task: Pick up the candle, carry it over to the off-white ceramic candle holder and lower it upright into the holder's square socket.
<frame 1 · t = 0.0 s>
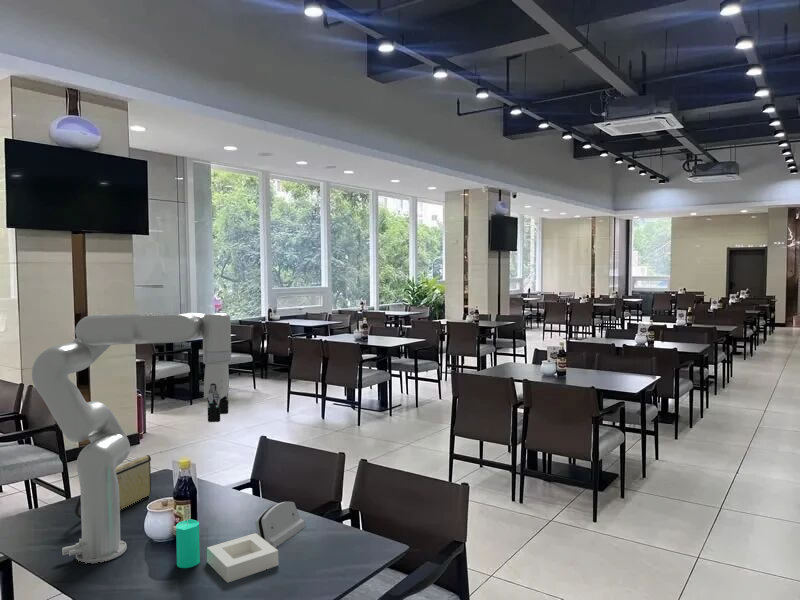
hand: (218, 417, 161), 37 cm above the table, tool pointing down, fingers open, 9 cm apart
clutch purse: (114, 511, 191), on the table
hinge: (280, 535, 171), on the table
candle: (188, 563, 154), on the table
candle holder: (242, 563, 153), on the table
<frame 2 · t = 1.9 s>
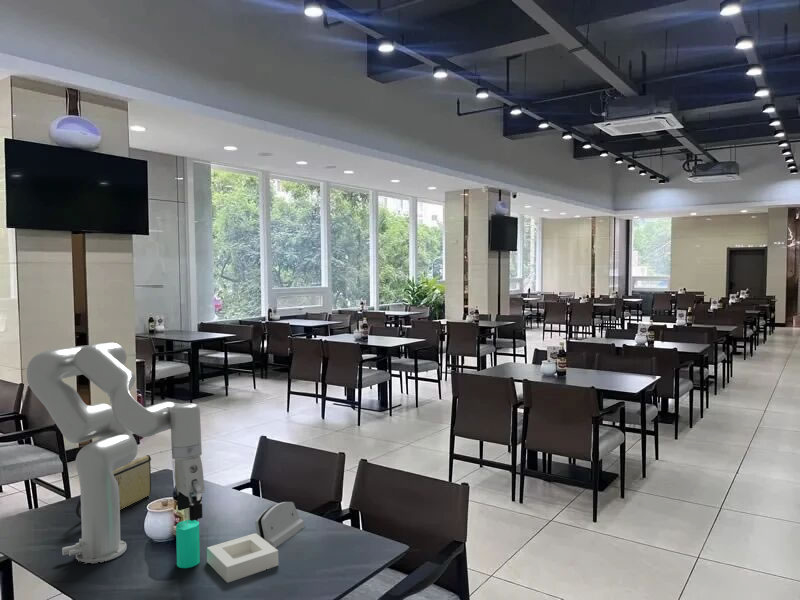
hand: (189, 513, 154), 13 cm above the table, tool pointing down, fingers open, 9 cm apart
nothing on the table moved.
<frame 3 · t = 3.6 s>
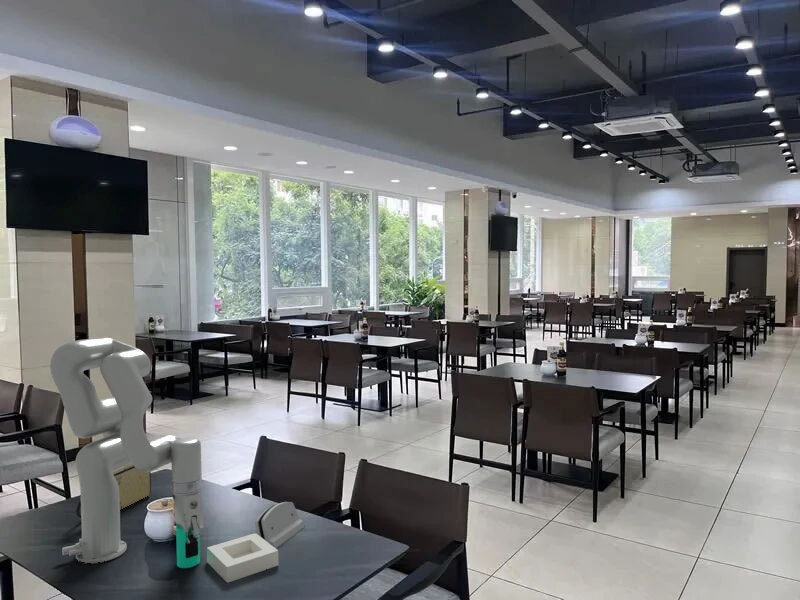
hand: (188, 551, 154), 3 cm above the table, tool pointing down, fingers closed on candle, 4 cm apart
candle: (188, 563, 154), on the table, touching gripper
everything else where it was.
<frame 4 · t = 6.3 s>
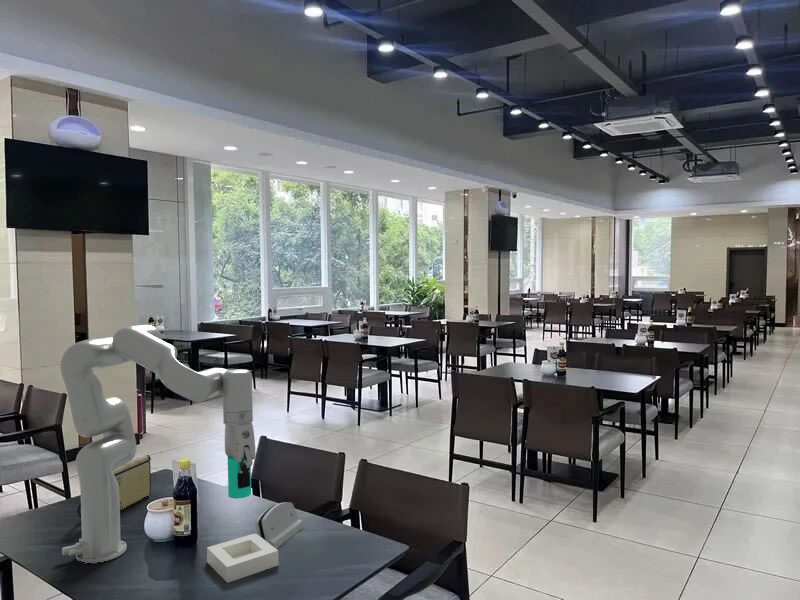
hand: (239, 483, 153), 22 cm above the table, tool pointing down, fingers closed on candle, 4 cm apart
candle: (239, 495, 153), point 19 cm above the table, touching gripper
everything else where it was.
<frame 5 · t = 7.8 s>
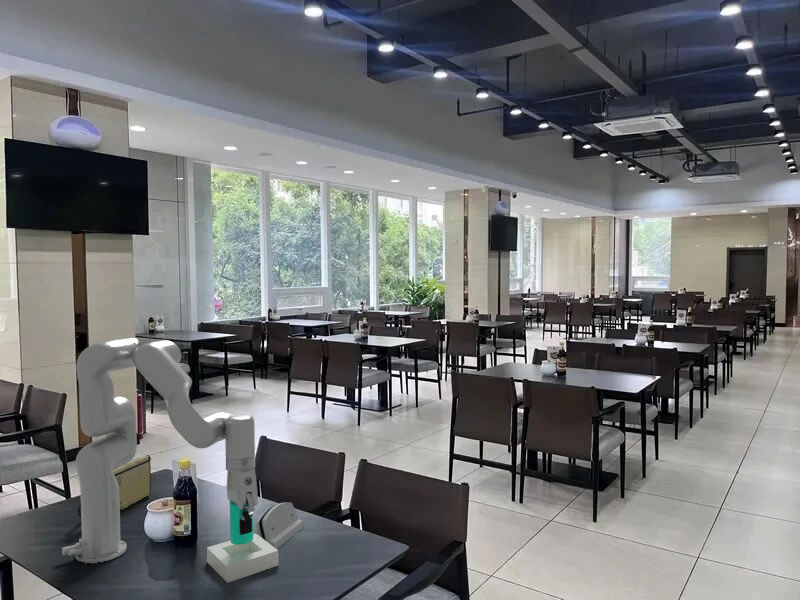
hand: (241, 528, 153), 9 cm above the table, tool pointing down, fingers closed on candle, 4 cm apart
candle: (241, 540, 153), point 6 cm above the table, touching gripper
everything else where it was.
when the fingers open (5 cm above the table, at t = 9.3 s): candle stays where it is, resting on candle holder.
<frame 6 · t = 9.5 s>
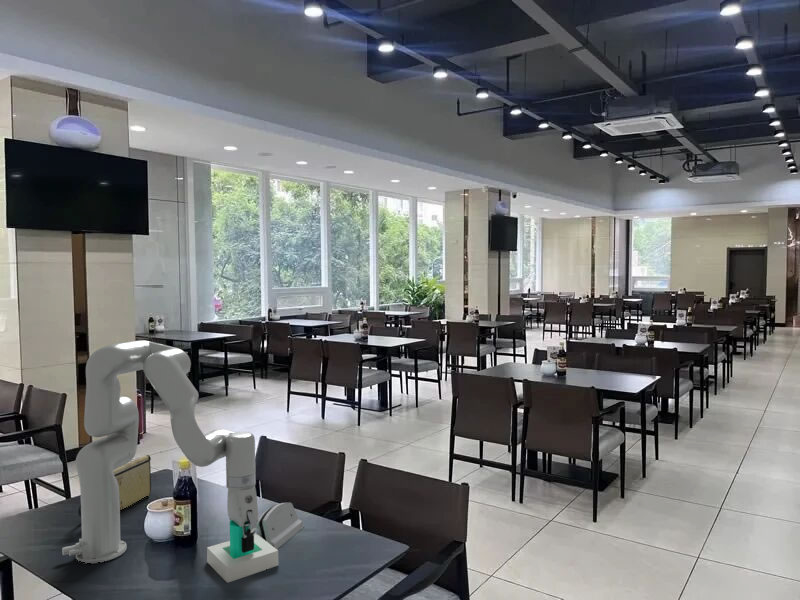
hand: (242, 545, 153), 5 cm above the table, tool pointing down, fingers open, 6 cm apart
candle: (241, 560, 153), point 1 cm above the table, touching candle holder
everything else where it was.
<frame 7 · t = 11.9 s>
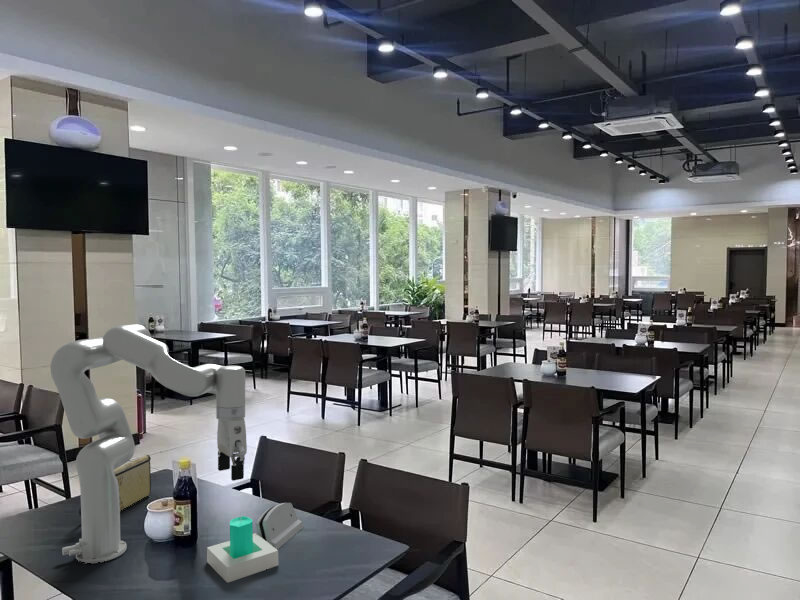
hand: (230, 474, 156), 23 cm above the table, tool pointing down, fingers open, 9 cm apart
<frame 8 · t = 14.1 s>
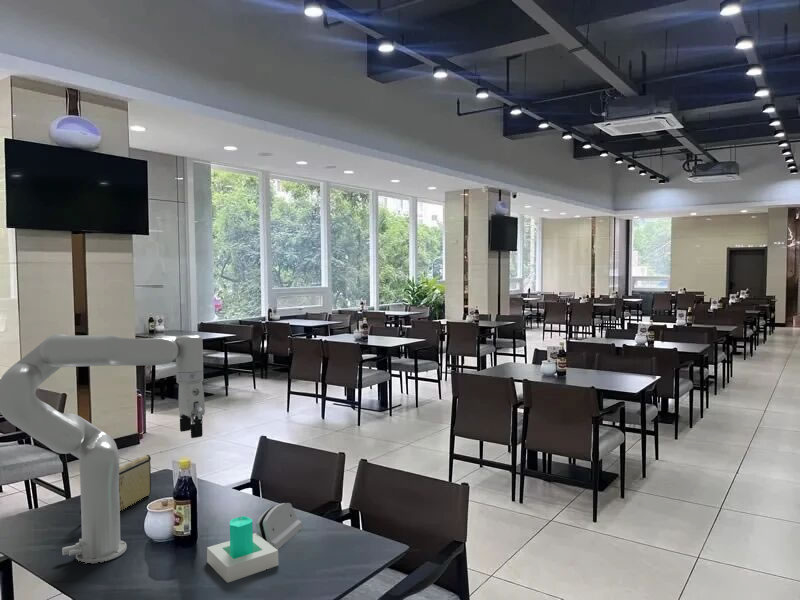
hand: (191, 433, 171), 30 cm above the table, tool pointing down, fingers open, 9 cm apart
at the end: candle 0.2 cm off-centre on the candle holder, point 0.8 cm above the candle holder's base; candle tilted 0°; the gripper is holding nothing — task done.
